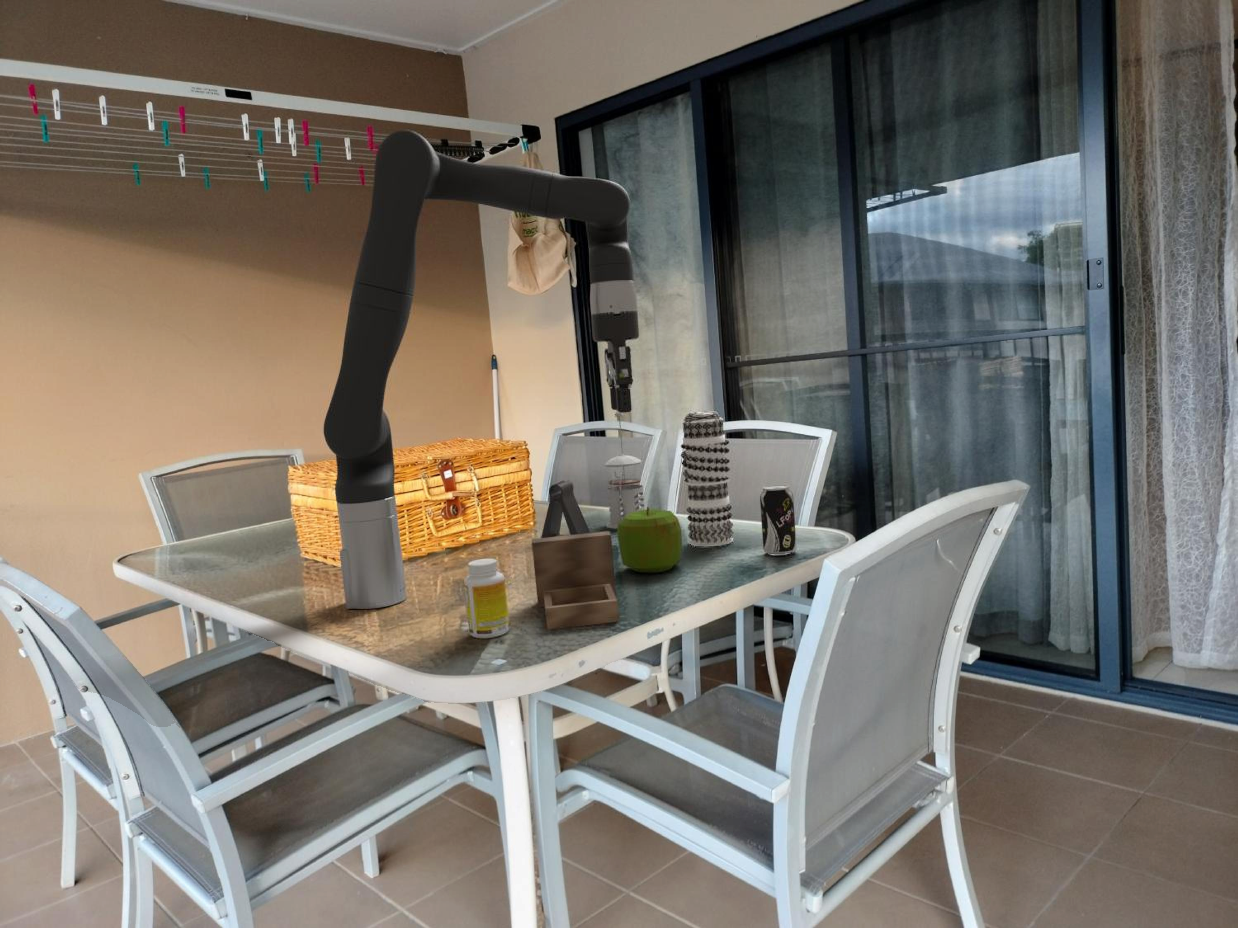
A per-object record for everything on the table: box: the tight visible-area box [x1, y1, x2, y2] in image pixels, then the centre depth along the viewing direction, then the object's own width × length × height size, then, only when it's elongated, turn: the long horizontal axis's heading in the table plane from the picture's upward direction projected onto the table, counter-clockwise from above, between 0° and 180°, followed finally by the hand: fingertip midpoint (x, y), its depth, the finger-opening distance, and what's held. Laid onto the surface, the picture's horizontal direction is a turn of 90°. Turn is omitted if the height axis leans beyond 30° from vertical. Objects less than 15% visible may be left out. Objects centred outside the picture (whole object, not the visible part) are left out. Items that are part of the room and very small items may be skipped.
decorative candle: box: [680, 410, 734, 547], centre depth 171 cm, size 9×9×25 cm
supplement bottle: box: [463, 558, 510, 639], centre depth 125 cm, size 6×6×10 cm
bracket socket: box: [531, 530, 620, 631], centre depth 132 cm, size 12×15×10 cm
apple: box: [616, 506, 683, 574], centre depth 154 cm, size 11×11×11 cm
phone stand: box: [540, 480, 591, 538], centre depth 187 cm, size 9×6×12 cm, turn 71°
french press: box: [604, 410, 646, 530], centre depth 196 cm, size 10×12×25 cm
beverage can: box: [759, 484, 797, 555], centre depth 158 cm, size 6×6×12 cm
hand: (621, 411), depth 148 cm, fingers open, 8 cm apart
